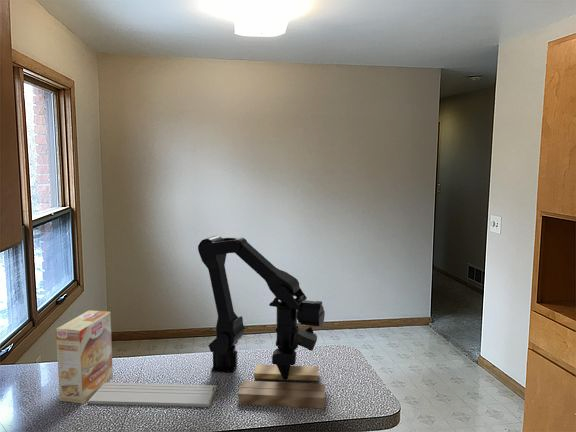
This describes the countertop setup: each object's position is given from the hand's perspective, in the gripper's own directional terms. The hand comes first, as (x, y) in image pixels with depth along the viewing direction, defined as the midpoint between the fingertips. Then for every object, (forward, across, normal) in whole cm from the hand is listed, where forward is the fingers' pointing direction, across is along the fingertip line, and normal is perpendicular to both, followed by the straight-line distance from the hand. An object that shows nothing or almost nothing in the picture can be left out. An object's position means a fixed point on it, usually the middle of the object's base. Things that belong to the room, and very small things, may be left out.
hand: (286, 374), depth 133 cm
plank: (+1, 0, 0) cm, 1 cm away
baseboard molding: (+2, -12, +34) cm, 36 cm away
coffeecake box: (+1, -11, +53) cm, 54 cm away
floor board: (+1, -12, 0) cm, 12 cm away
